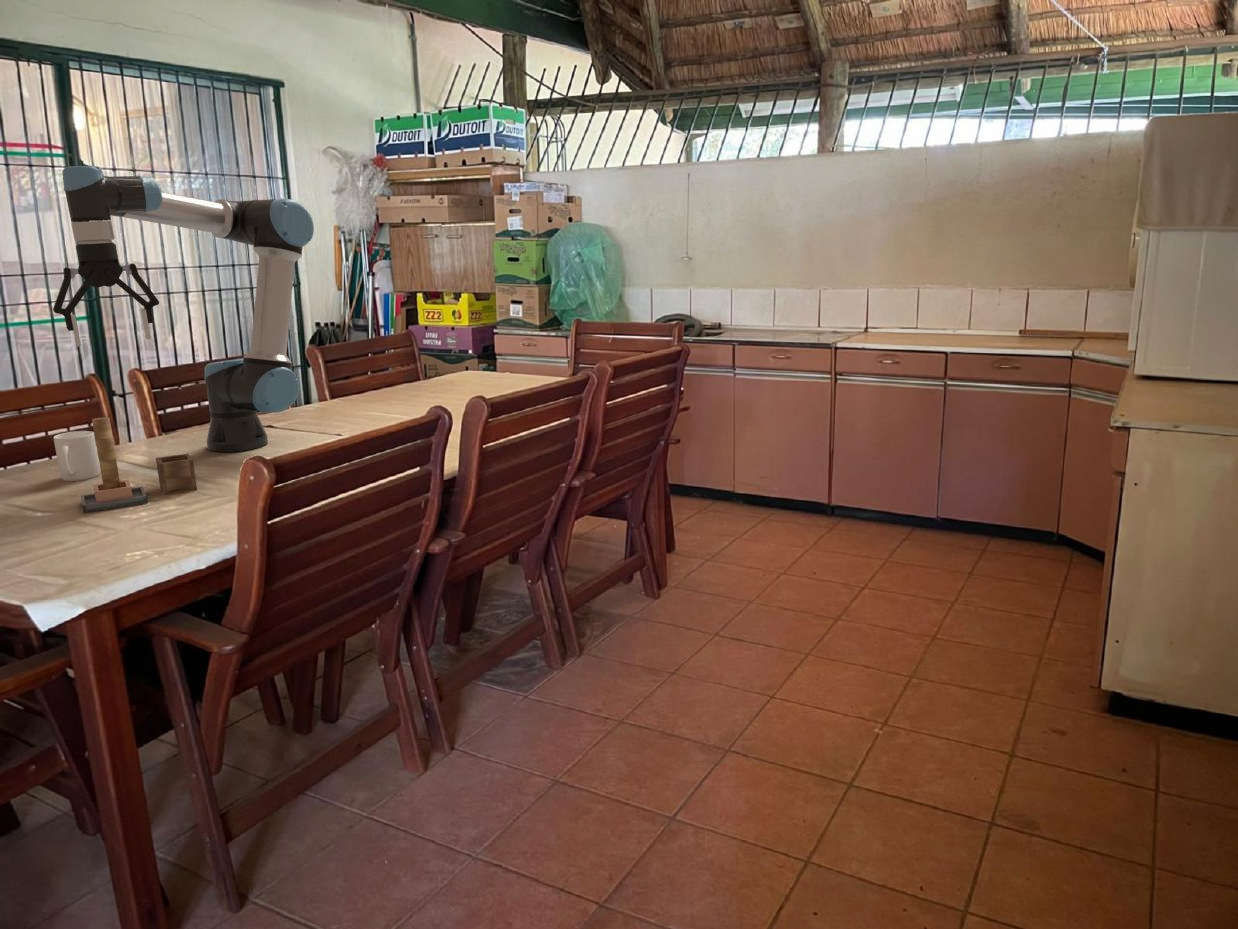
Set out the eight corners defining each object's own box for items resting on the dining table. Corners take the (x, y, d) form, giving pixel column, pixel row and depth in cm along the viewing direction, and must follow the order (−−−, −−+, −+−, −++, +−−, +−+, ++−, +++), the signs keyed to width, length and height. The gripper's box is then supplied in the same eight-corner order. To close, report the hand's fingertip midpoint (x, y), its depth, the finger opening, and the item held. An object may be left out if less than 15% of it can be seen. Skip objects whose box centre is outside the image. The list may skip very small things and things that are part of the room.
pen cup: (192, 482, 212) (188, 453, 210) (197, 489, 206) (192, 459, 205) (160, 487, 209) (155, 457, 207) (163, 494, 203) (159, 464, 201)
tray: (143, 493, 204) (142, 486, 204) (147, 503, 197) (146, 496, 197) (81, 502, 198) (80, 495, 198) (83, 513, 191) (82, 505, 191)
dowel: (121, 493, 199) (108, 416, 195) (122, 497, 197) (109, 419, 192) (104, 496, 198) (91, 418, 193) (105, 499, 195) (92, 421, 191)
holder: (130, 493, 202) (128, 479, 201) (133, 500, 196) (131, 486, 196) (95, 498, 199) (93, 484, 198) (97, 506, 193) (94, 492, 192)
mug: (85, 484, 213) (77, 441, 210) (47, 486, 212) (39, 443, 209) (106, 471, 224) (99, 430, 221) (70, 473, 223) (62, 431, 220)
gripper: (157, 238, 205) (173, 334, 211) (26, 245, 193) (47, 346, 198) (162, 239, 199) (178, 337, 205) (27, 246, 186) (49, 350, 192)
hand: (114, 342), depth 202 cm, fingers open, 13 cm apart
